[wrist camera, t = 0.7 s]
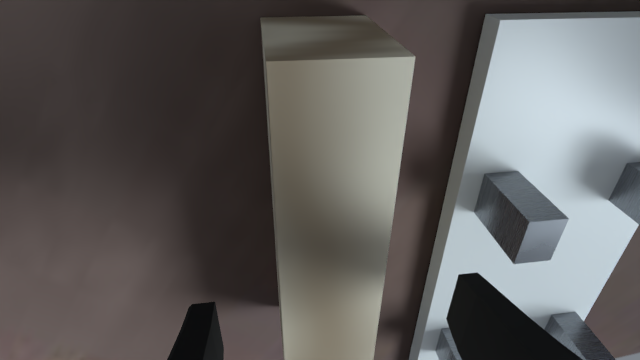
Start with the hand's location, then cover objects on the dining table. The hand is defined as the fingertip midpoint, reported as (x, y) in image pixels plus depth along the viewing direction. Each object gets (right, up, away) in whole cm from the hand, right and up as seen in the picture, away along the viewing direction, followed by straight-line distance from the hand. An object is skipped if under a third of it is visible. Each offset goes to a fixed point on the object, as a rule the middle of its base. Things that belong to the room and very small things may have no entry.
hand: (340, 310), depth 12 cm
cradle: (+10, 0, +9) cm, 14 cm away
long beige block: (-1, +3, +5) cm, 6 cm away
